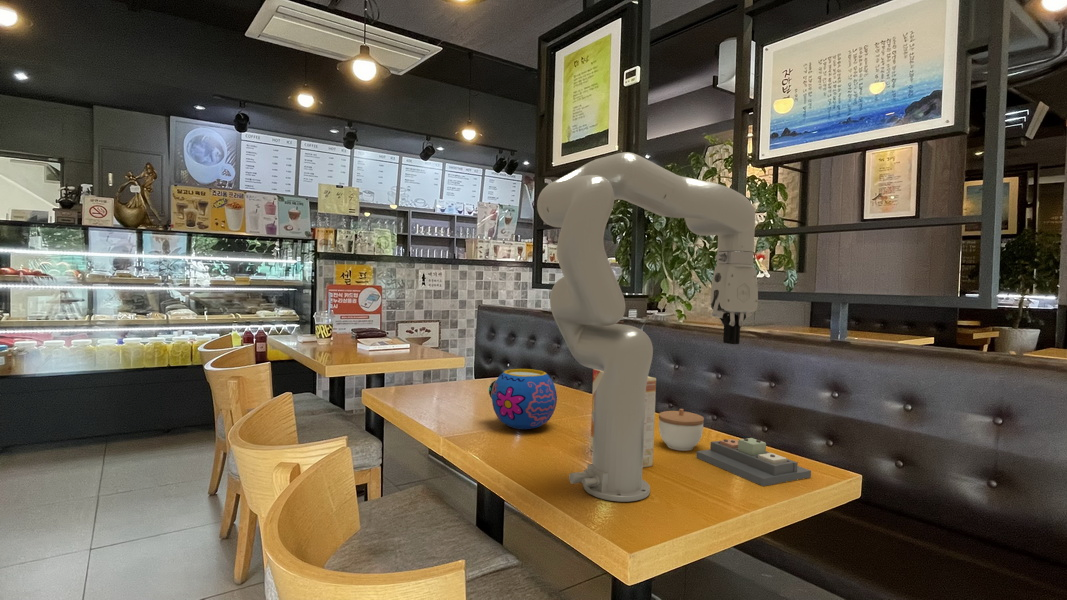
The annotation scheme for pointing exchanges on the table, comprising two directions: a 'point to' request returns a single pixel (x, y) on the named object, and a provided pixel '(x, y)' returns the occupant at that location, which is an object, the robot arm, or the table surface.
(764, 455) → the tile one
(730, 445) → the tile three
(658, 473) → the table surface
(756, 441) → the tile two
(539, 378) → the ceramic pot
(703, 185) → the robot arm
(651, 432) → the coffeecake box
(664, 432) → the lidded jar
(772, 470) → the board
